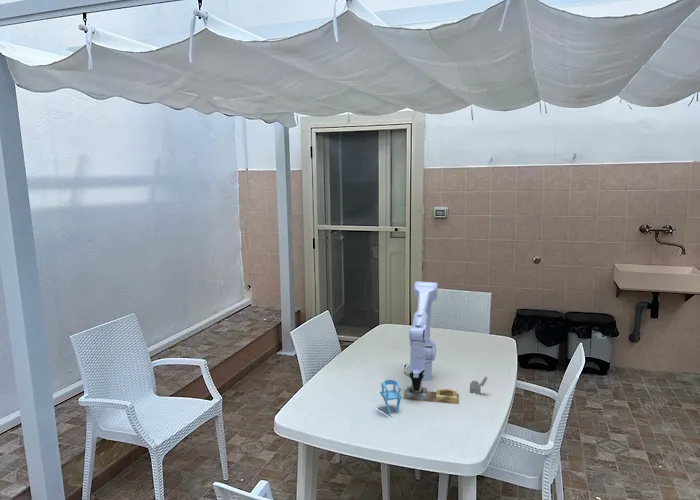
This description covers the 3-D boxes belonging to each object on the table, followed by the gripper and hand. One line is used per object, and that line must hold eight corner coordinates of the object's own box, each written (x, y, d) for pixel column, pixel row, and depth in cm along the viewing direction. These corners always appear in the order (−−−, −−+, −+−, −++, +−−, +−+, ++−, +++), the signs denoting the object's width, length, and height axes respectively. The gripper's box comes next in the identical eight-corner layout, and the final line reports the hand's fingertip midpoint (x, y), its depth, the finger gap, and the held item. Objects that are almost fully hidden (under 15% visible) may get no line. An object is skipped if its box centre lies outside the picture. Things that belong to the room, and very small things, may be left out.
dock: (402, 401, 201) (403, 394, 200) (405, 391, 211) (405, 384, 210) (459, 406, 197) (459, 399, 196) (458, 396, 206) (459, 389, 206)
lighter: (469, 392, 210) (470, 374, 209) (470, 391, 211) (471, 373, 210) (486, 396, 206) (487, 377, 205) (487, 394, 208) (488, 376, 207)
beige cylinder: (409, 394, 205) (409, 375, 204) (416, 392, 207) (417, 373, 206) (415, 398, 202) (416, 379, 201) (423, 395, 204) (423, 377, 203)
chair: (384, 417, 187) (385, 387, 185) (377, 408, 195) (377, 378, 193) (404, 415, 189) (404, 385, 188) (395, 405, 197) (396, 376, 195)
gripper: (409, 349, 210) (408, 380, 212) (405, 361, 196) (405, 394, 198) (426, 350, 209) (425, 381, 211) (424, 362, 195) (423, 396, 197)
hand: (416, 388), depth 204 cm, fingers closed on beige cylinder, 4 cm apart
